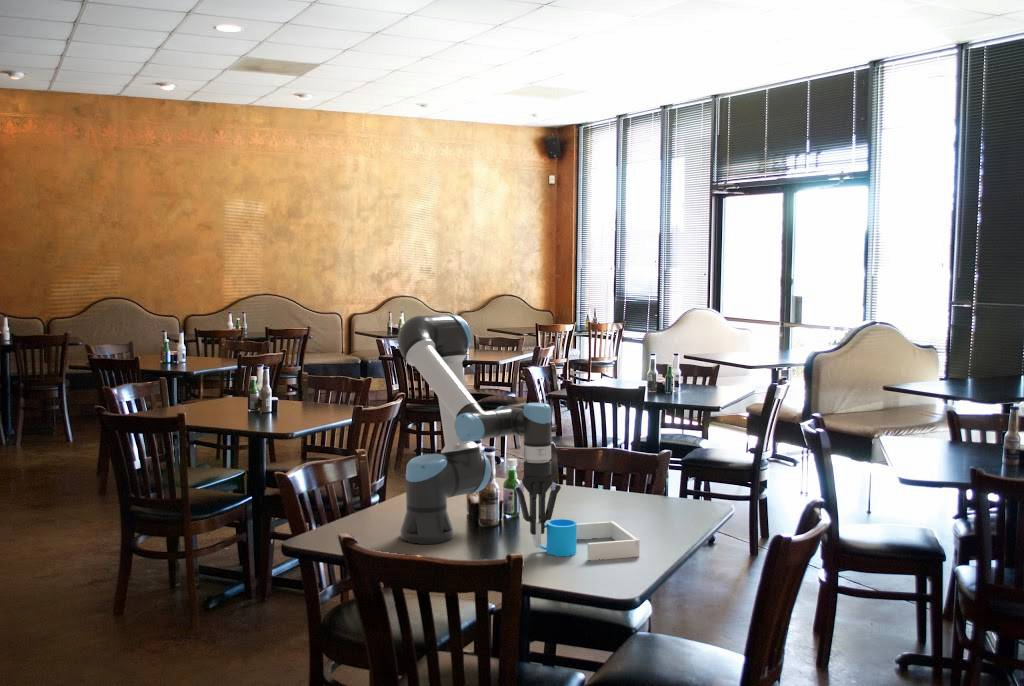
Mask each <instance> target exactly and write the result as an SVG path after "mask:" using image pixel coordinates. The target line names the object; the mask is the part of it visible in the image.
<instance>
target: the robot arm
mask: <svg viewBox="0 0 1024 686" xmlns="http://www.w3.org/2000/svg"><path fill="white" fill-rule="evenodd" d="M472 339H473V338H472V331H471V328H470V326H469V324H468V323H467V321H466V320H465V319H463V317H462V316H460V315H457V314H449V313H448V314H447V313H446V314H436V315H435V314H433V315H416V316H413V317H411V318H410V317H409V319H407V320H406V321H405V322H404V323H403V324H402V326H401V327H400V329H399V331H398V336H397V344H398V345H397V346H398V348H399V352H400V354H401V356H402V357H403V360H405V361H406V363H407V364H408V365H409V366H411V367H415V369H416V370H417V371H418V373H420V375H421V376H422V378H423V379H424V381H426V383H427V385H429V387H430V388H431V389H432V391H433V392H434V393H435V394H436V396H437V398H438V404H439V411H440V412H439V413H440V417H441V419H440V420H441V426H442V431H443V432H442V433H443V441H444V447H443V448H442V450H441V451H440V453H431V454H427V453H426V454H422V455H418V456H415V457H413V458H411V459H410V460H409V461H408V462H407V464H406V471H405V484H406V485H405V487H406V489H405V490H406V491H405V492H406V493H405V494H406V495H405V496H406V498H405V499H406V511H405V516H404V518H403V521H402V525H401V528H400V539H401V538H402V539H403V540H405V541H404V542H406V541H408V542H407V543H409V542H412V544H415V543H418V545H432V544H433V545H435V544H440V543H444V542H447V541H450V540H451V539H453V537H454V529H453V525H452V521H451V519H450V517H449V513H448V510H447V509H448V508H447V505H448V503H447V502H448V501H447V499H448V498H454V497H459V496H464V495H471V494H472V495H473V494H474V493H477V492H480V491H482V490H484V489H485V488H486V487H487V486H488V484H489V482H490V479H491V473H492V467H491V462H490V459H489V458H488V456H487V455H486V454H485V453H483V452H481V448H480V445H478V444H477V443H476V441H479V440H486V439H491V438H493V439H494V438H498V437H499V438H501V437H506V436H519V437H523V460H524V461H523V478H522V480H521V482H520V483H519V484H518V485H514V486H513V490H514V491H515V493H516V494H517V496H518V502H519V505H520V508H521V513H522V517H523V519H524V521H526V522H528V523H529V532H530V535H532V536H533V535H534V540H533V546H534V547H535V548H540V547H541V545H542V535H544V534H545V529H546V528H545V525H546V523H547V522H548V521H550V520H552V517H553V513H554V508H555V504H556V500H557V497H558V493H559V492H560V490H561V488H562V486H561V485H560V484H558V483H555V482H554V480H553V477H552V461H551V459H552V421H553V418H552V408H551V406H550V404H549V403H544V402H528V403H525V404H524V405H523V408H521V407H520V408H519V407H515V406H511V405H506V406H505V405H501V406H498V407H497V408H495V409H490V410H484V409H483V407H481V405H480V404H479V403H478V402H477V401H476V399H475V398H474V396H472V394H471V393H470V391H469V390H467V388H466V381H465V380H466V379H465V373H464V366H463V362H464V360H465V359H466V357H467V353H466V351H468V350H469V349H470V347H471V342H472V341H473V340H472ZM524 488H525V489H524ZM549 489H550V493H549V496H548V501H547V504H546V495H547V492H548V490H549ZM525 490H526V491H527V492H528V495H529V496H528V497H529V509H528V506H527V501H526V498H525V497H526V496H525V494H524V492H525ZM537 497H538V514H537ZM528 510H529V511H528ZM537 515H538V520H537ZM402 539H401V540H402ZM403 540H402V541H403Z"/></svg>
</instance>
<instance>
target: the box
mask: <svg viewBox="0 0 1024 686" xmlns="http://www.w3.org/2000/svg"><path fill="white" fill-rule="evenodd" d="M610 537H611V539H612V540H611V541H610V540H609V541H597V542H596V541H595V542H587V559H588V560H591V561H603V560H613V559H614V560H615V559H624V558H625V559H626V558H627V559H628V558H636V557H640V544H641V543H640V539H639V538H637V537H636V536H634V534H631V533H630V532H629V531H628V530H627V529H625V528H623V527H622V526H620V525H619V524H618V523H616V522H615V521H613V520H612V521H599V522H598V521H597V522H594V521H593V522H586V523H585V522H584V523H577V532H576V541H578V540H577V539H585V540H593V539H592V538H598V539H608V538H610ZM599 559H600V560H599ZM602 559H603V560H602ZM588 560H587V561H588Z"/></svg>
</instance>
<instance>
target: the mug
mask: <svg viewBox="0 0 1024 686" xmlns="http://www.w3.org/2000/svg"><path fill="white" fill-rule="evenodd" d="M577 524H578V523H577V522H576V521H575V520H572V519H568V518H567V519H566V518H564V519H563V518H556V519H555V518H554V519H551V520H547V521H546V524H545V528H544V529H546V546H545V545H542V544H541V547H539V548H540V549H542V550H545V551H546V554H547V555H549V554H551V555H550V556H552V555H556V556H555V557H559V556H566V557H571V556H570V555H572V556H574V555H576V554H577V540H576V532H577ZM532 541H534V535H532ZM575 553H576V554H575ZM573 554H574V555H573Z"/></svg>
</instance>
